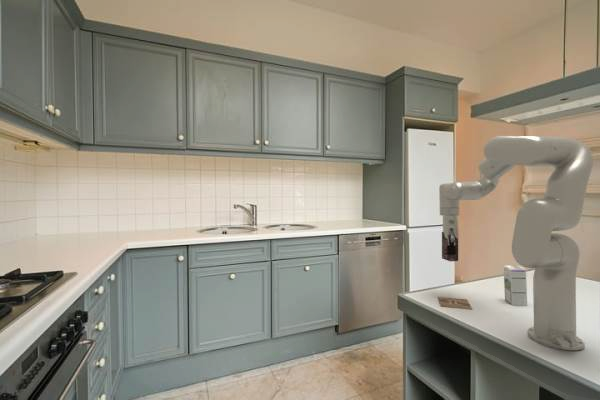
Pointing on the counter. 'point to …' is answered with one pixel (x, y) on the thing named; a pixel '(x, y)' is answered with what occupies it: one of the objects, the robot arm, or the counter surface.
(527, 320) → the counter surface
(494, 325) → the counter surface
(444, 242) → the box
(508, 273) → the syrup box
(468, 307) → the brown board
